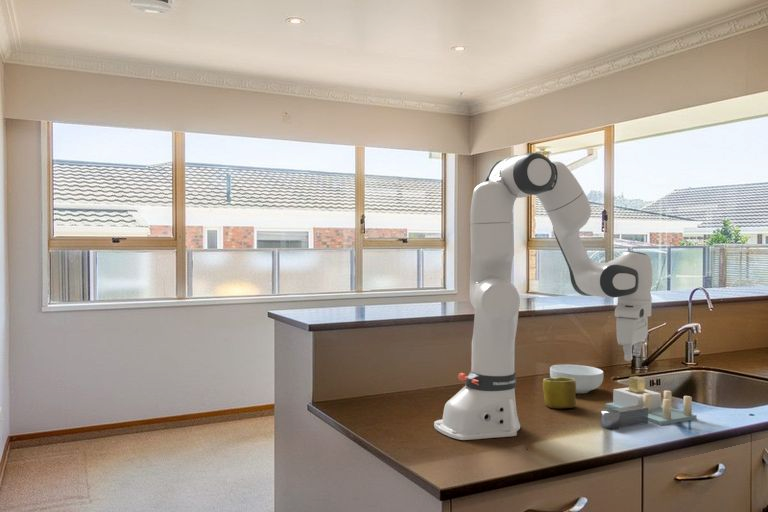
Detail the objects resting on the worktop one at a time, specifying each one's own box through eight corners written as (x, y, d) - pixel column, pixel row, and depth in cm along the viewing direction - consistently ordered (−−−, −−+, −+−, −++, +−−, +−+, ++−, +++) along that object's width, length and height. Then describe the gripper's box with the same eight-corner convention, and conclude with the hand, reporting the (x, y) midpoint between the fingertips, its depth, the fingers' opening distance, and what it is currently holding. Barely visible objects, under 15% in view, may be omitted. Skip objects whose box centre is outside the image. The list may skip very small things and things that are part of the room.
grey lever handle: (610, 430, 150) (610, 414, 150) (597, 425, 154) (597, 410, 154) (650, 423, 156) (650, 408, 156) (636, 418, 160) (636, 404, 160)
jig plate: (660, 425, 154) (660, 402, 154) (605, 406, 172) (605, 386, 171) (696, 418, 160) (696, 397, 160) (640, 401, 177) (640, 382, 177)
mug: (584, 406, 165) (573, 371, 167) (548, 415, 167) (537, 380, 170) (581, 403, 177) (571, 370, 179) (548, 411, 179) (538, 379, 181)
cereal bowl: (608, 398, 181) (608, 375, 181) (552, 395, 184) (552, 373, 184) (598, 385, 198) (598, 364, 198) (547, 383, 201) (547, 362, 200)
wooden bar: (637, 407, 168) (637, 379, 168) (628, 404, 171) (629, 377, 170) (644, 405, 169) (645, 378, 169) (636, 403, 172) (636, 376, 172)
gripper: (631, 305, 175) (629, 351, 175) (612, 310, 159) (611, 361, 159) (654, 307, 171) (652, 354, 172) (637, 312, 155) (635, 364, 155)
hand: (632, 357), depth 165 cm, fingers open, 8 cm apart
